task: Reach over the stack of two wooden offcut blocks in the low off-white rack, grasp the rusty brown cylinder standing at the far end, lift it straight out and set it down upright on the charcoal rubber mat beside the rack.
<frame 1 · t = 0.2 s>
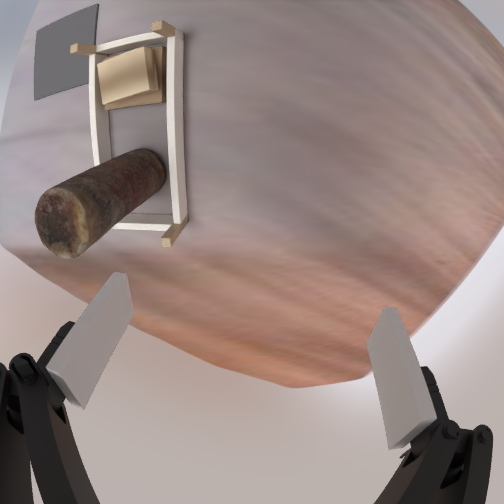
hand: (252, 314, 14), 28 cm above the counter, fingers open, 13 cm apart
rack: (141, 131, 36), on the counter
rusty brown cylinder: (144, 170, 39), on the counter
offcut lower: (141, 79, 33), on the counter, touching offcut upper
mat: (62, 52, 29), on the counter
offcut upper: (132, 76, 30), point 2 cm above the counter, touching offcut lower
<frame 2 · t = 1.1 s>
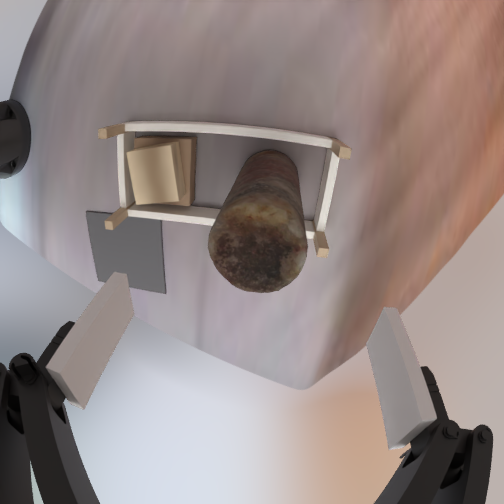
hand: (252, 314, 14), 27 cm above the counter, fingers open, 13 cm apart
rack: (223, 171, 37), on the counter
rusty brown cylinder: (268, 176, 37), on the counter
offcut lower: (169, 166, 38), on the counter, touching offcut upper
mat: (125, 252, 45), on the counter
offcut upper: (160, 170, 35), point 2 cm above the counter, touching offcut lower
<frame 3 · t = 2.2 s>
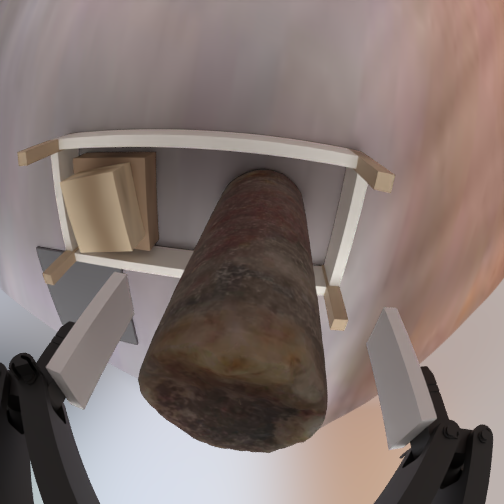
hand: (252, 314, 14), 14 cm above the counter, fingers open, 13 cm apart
rack: (196, 199, 26), on the counter
rusty brown cylinder: (261, 205, 26), on the counter
offcut lower: (123, 193, 27), on the counter, touching offcut upper
mat: (85, 297, 34), on the counter
offcut upper: (110, 203, 24), point 2 cm above the counter, touching offcut lower
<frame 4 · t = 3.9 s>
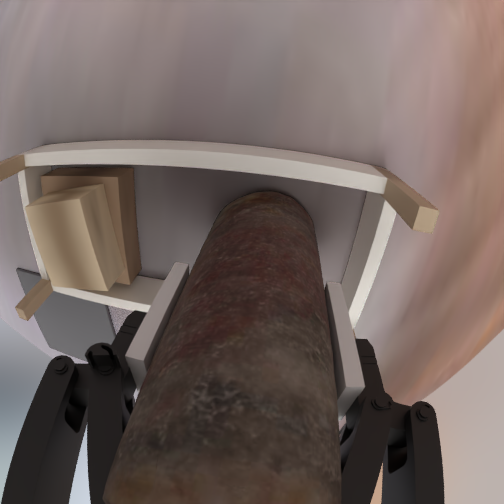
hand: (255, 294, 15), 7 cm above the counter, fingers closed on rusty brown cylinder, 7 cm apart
rack: (184, 225, 22), on the counter
rusty brown cylinder: (262, 233, 22), on the counter, touching gripper
offcut lower: (100, 215, 22), on the counter
mat: (70, 323, 30), on the counter
offcut upper: (84, 230, 20), point 2 cm above the counter
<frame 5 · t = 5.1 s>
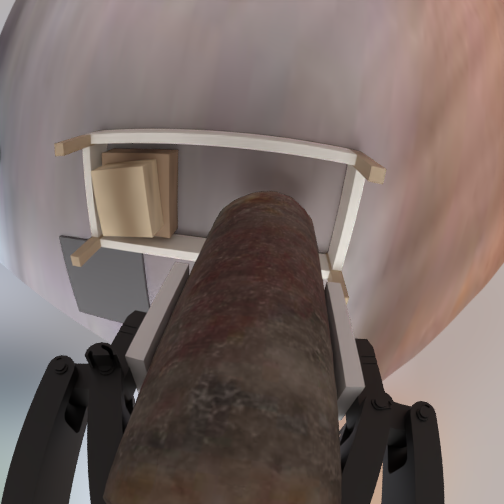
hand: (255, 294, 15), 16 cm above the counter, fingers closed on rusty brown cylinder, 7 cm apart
rack: (214, 192, 30), on the counter
rusty brown cylinder: (262, 233, 22), point 9 cm above the counter, touching gripper
offcut lower: (146, 186, 30), on the counter
mat: (105, 283, 38), on the counter
offcut upper: (134, 193, 28), point 2 cm above the counter
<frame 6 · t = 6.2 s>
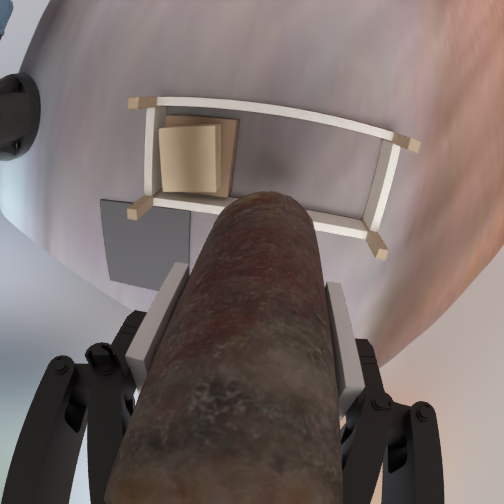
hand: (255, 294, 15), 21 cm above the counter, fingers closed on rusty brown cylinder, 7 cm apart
rack: (268, 159, 32), on the counter
rusty brown cylinder: (263, 233, 22), point 14 cm above the counter, touching gripper
offcut lower: (203, 151, 33), on the counter, touching offcut upper
mat: (144, 248, 40), on the counter
offcut upper: (195, 154, 31), point 2 cm above the counter, touching offcut lower
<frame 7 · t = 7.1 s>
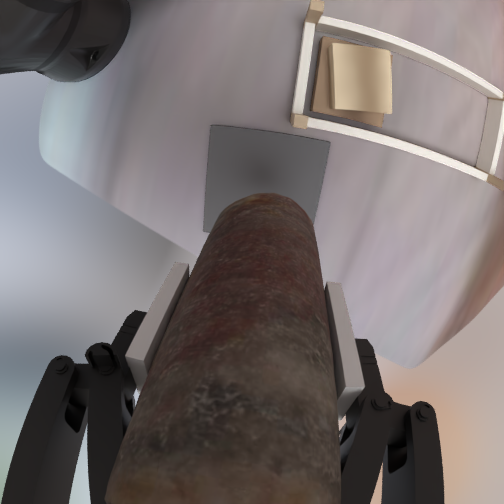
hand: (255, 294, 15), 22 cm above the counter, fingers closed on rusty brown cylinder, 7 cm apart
rack: (409, 99, 27), on the counter
rusty brown cylinder: (262, 234, 22), point 15 cm above the counter, touching gripper
offcut lower: (348, 82, 28), on the counter, touching offcut upper
mat: (262, 187, 35), on the counter
offcut upper: (356, 79, 25), point 3 cm above the counter, touching offcut lower
when the fingers open (9 cm above the counter, at t = 10.5 s): rusty brown cylinder drops 2 cm, resting on mat.
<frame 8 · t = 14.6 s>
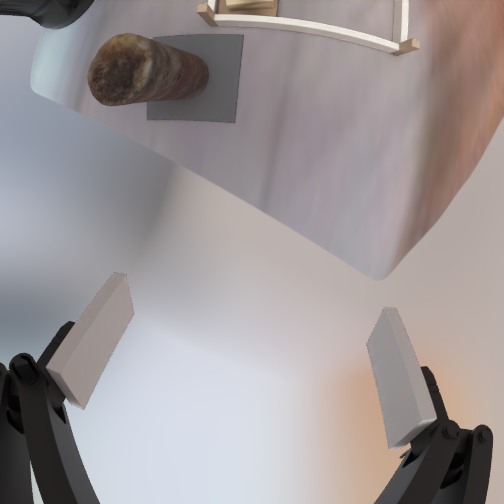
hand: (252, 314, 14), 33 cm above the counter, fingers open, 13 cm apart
rusty brown cylinder: (185, 77, 36), resting on mat
mat: (192, 76, 36), on the counter
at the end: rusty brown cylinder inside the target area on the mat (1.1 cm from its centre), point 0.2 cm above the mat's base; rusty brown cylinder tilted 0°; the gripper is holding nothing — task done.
